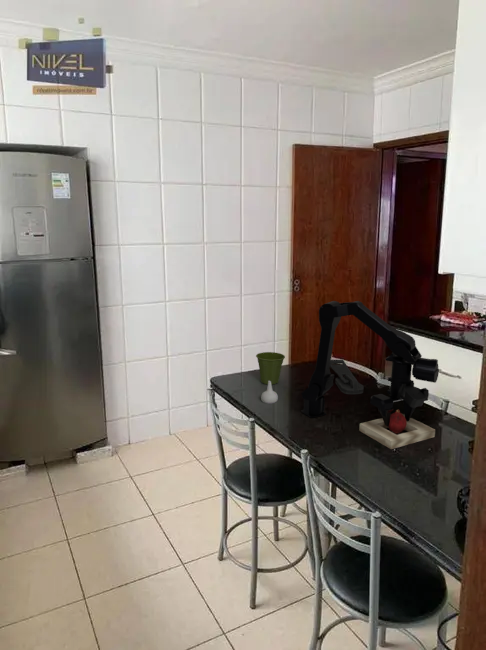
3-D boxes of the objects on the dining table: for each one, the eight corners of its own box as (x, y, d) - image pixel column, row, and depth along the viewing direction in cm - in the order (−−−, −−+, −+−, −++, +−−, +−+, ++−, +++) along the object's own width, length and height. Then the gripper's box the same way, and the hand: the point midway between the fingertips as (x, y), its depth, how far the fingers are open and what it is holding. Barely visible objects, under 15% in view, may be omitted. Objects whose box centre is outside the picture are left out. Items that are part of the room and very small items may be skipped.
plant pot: (278, 388, 191) (278, 361, 189) (250, 384, 196) (251, 357, 194) (288, 379, 201) (289, 354, 199) (262, 375, 206) (262, 350, 204)
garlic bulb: (280, 404, 177) (282, 383, 176) (265, 405, 174) (267, 384, 173) (272, 398, 182) (274, 378, 181) (257, 399, 180) (259, 378, 178)
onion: (405, 439, 148) (407, 414, 146) (386, 436, 150) (387, 412, 148) (405, 431, 153) (407, 407, 152) (387, 428, 155) (388, 405, 154)
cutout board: (391, 449, 142) (391, 441, 141) (359, 430, 154) (359, 423, 153) (434, 437, 150) (435, 429, 149) (401, 420, 162) (401, 413, 161)
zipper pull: (344, 359, 209) (367, 377, 185) (343, 373, 210) (366, 393, 186) (324, 359, 207) (345, 378, 183) (323, 374, 209) (344, 395, 185)
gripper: (397, 389, 136) (393, 439, 140) (444, 379, 145) (438, 427, 148) (370, 377, 146) (367, 425, 149) (415, 369, 154) (411, 414, 158)
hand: (397, 423), depth 151 cm, fingers open, 8 cm apart
